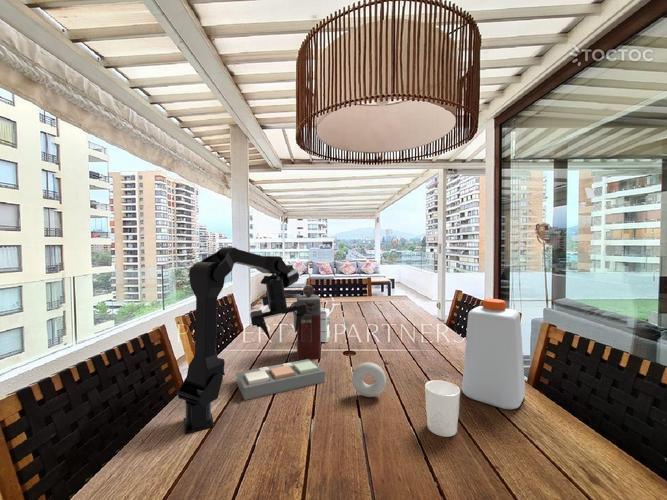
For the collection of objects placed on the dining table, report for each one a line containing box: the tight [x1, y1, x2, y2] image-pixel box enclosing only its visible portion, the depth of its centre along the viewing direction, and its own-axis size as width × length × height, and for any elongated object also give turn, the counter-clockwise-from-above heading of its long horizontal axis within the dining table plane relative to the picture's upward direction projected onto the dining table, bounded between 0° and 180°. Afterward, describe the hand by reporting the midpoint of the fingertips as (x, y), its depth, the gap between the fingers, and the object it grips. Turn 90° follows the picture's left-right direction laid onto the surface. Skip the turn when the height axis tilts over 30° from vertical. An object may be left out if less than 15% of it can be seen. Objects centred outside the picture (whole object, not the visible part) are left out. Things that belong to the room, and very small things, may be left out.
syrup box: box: [321, 307, 331, 344], centre depth 141 cm, size 6×6×14 cm
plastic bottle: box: [461, 298, 526, 410], centre depth 90 cm, size 15×15×28 cm
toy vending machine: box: [296, 284, 322, 361], centre depth 122 cm, size 9×11×28 cm
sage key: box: [294, 360, 318, 375], centre depth 101 cm, size 6×6×2 cm
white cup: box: [424, 379, 461, 438], centre depth 74 cm, size 8×8×10 cm
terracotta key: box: [270, 365, 294, 380], centre depth 97 cm, size 6×6×2 cm
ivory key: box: [245, 370, 269, 385], centre depth 94 cm, size 6×6×2 cm
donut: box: [351, 361, 387, 398], centre depth 90 cm, size 10×4×10 cm, turn 82°
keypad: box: [235, 359, 325, 401], centre depth 99 cm, size 13×25×4 cm, turn 117°
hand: (282, 335), depth 106 cm, fingers open, 9 cm apart
